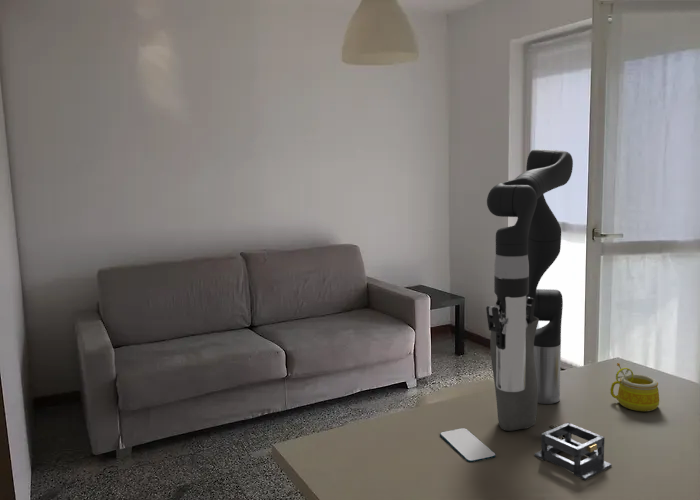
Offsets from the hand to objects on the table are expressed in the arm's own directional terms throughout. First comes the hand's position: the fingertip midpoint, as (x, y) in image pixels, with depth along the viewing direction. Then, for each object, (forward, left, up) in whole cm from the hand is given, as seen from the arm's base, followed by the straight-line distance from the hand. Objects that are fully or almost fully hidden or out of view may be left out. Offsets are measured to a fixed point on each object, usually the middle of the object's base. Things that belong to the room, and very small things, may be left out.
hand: (511, 345), depth 137 cm
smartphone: (-13, -1, -30) cm, 33 cm away
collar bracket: (+8, +13, -29) cm, 33 cm away
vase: (-13, +17, -29) cm, 36 cm away
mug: (-1, +54, -30) cm, 61 cm away
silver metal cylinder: (0, 0, -10) cm, 10 cm away
